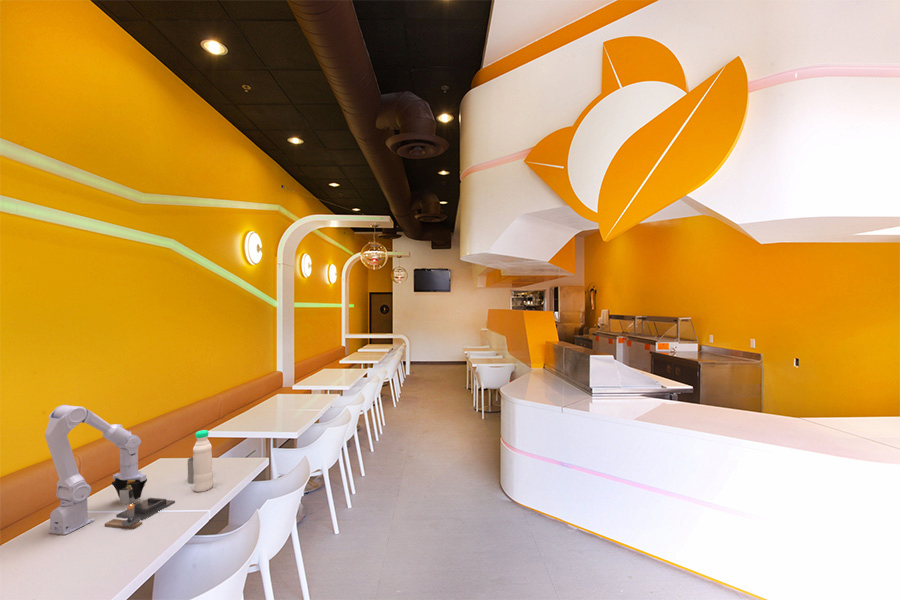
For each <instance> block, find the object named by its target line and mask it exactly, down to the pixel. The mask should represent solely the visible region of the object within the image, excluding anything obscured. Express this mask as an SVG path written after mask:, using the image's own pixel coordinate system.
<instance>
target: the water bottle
mask: <svg viewBox="0 0 900 600" xmlns="http://www.w3.org/2000/svg"><path fill="white" fill-rule="evenodd" d="M209 433H210V432H209V430H208V429H207V430H206V429H202V430H199V431H196V432H195V438H196V441H195V444H194V446H193V448H192V453H193V454H192V457H193V470H194V477H193V479H194V484H193V491H194V492H196V493H201V492H205V491H208V490H210V489H212V487H213V453H212V452H213V451H212V448H213V446H212V444H211V442H210V440H209V438H208V437H209V435H210V434H209Z"/></svg>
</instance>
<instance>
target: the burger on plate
mask: <svg viewBox="0 0 900 600" xmlns="http://www.w3.org/2000/svg"><path fill="white" fill-rule="evenodd" d="M133 482H135V480H128V482H127V486H129V485H130V483H133ZM146 483H147V482H146ZM146 483H145V485H146Z"/></svg>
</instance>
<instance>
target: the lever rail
mask: <svg viewBox="0 0 900 600" xmlns="http://www.w3.org/2000/svg"><path fill="white" fill-rule="evenodd" d="M125 520H126V519H118V518H117V519H116V518H112V519H111V520H109V521H107V522H105V523H104V527H108V528H116V529H126V530H135V529H137V528H139V527H141V526H142V525H143V521H141V520H140V521H139V522H137V523H135V524H134V525H132V526H122V522H123V521H125ZM141 524H142V525H141ZM140 525H141V526H140Z"/></svg>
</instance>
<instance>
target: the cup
mask: <svg viewBox="0 0 900 600" xmlns="http://www.w3.org/2000/svg"><path fill="white" fill-rule="evenodd" d="M193 477H194V470H193V456H191V457H189V458H188V459H187V483H188V484H190V485H191V484H192V485H194V479H193Z"/></svg>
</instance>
